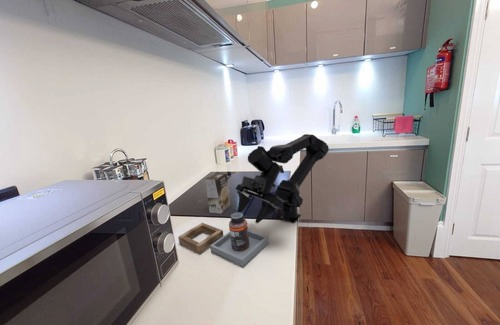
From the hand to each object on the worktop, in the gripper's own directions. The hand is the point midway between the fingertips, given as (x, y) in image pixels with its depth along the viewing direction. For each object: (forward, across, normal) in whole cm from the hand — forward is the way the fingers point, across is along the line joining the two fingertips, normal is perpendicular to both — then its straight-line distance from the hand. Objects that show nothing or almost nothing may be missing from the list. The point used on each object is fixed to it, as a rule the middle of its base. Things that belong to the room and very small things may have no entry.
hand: (246, 218), depth 76 cm
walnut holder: (+14, -13, -1) cm, 19 cm away
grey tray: (+9, 0, +4) cm, 10 cm away
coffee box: (+1, -30, +13) cm, 32 cm away
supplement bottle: (+9, 0, +3) cm, 10 cm away
